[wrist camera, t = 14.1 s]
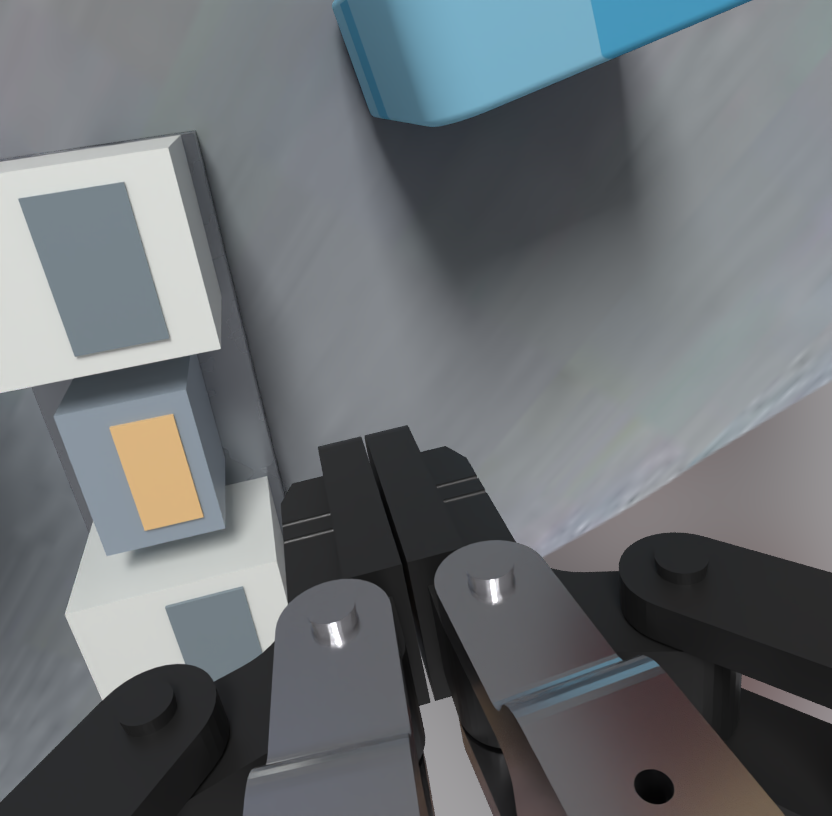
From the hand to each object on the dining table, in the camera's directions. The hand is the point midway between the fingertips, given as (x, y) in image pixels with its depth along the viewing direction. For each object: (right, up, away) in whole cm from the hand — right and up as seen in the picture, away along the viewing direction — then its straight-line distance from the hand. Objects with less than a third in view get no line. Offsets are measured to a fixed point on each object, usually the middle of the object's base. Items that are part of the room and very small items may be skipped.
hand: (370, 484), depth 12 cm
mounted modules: (-11, +1, +20) cm, 23 cm away
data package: (+3, +18, +19) cm, 26 cm away
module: (-11, +1, +20) cm, 23 cm away
